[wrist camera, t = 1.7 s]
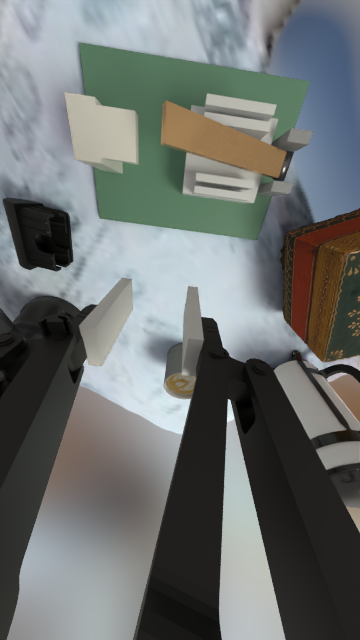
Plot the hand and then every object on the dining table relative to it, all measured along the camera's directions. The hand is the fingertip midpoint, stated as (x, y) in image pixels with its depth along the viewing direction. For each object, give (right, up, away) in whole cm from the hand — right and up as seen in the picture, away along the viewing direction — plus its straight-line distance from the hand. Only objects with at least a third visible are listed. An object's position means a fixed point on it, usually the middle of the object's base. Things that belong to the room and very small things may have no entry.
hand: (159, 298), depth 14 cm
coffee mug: (+5, -12, +35) cm, 38 cm away
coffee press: (+34, -15, +36) cm, 51 cm away
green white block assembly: (+3, +22, +12) cm, 26 cm away
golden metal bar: (+7, +16, +4) cm, 18 cm away
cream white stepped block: (-6, +23, +11) cm, 26 cm away
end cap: (-23, +15, +19) cm, 33 cm away
